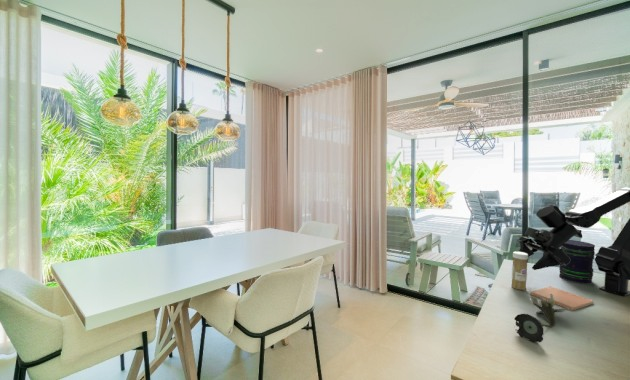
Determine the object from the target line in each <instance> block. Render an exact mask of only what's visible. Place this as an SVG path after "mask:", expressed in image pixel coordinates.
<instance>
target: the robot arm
mask: <svg viewBox="0 0 630 380" xmlns="http://www.w3.org/2000/svg"><path fill="white" fill-rule="evenodd" d="M628 203H630V187H621V188H619V189H617V191H615V192H613V193H611V194H609V195H607V196H604V197H602V198H600V199H599V200H597V201H595V202H594V203H591V204H589V205H586V206H581V207H576V208H573V209H569V210H568V211H566V212H562V211H561V210H560V208H559V206H557V205H556V204H550V205H549V206H545V207H543V208H541V209H539V210H538V211H537V212H536V213H535V215H536V217H537V218H538V219H539V220H540V221H541V222H542V223H543V224H544V225H545V226H546V227H547V228H550V230H549V231H548V230H546V229H541V230H539V229H536V228H532V227H527V229H526V231H525V232H524V235H525V236H520V238H518V244H519V246H520V248H519V250H518V252H524V253H527V254H528V258H530V257H531V256H533V255H534V254H535V253H537V252H538V251H539V252H542V256H541V258H539V259H538V261H536V262H535V264H533V265H532V267H531V268H532V270H533V271H537V270H541V269H545V268H551V267H557V266H559V267H560V266H561V265H562V264H563V265H565V266H566V265H567V264H568V263H570V257H569V256H568V255H567V254H566V253H565V252H564V251H563V250H562V249H561V247H566V245H565V243H566V242H567V241H568V240H571V239H572V238H573V237H577V238H579V239H580V238H581V239H582V238H583V234H582V232H583V231H582V229H578V228H576V227H580V228H585V229H589V228H591V227H593V226H594V225H595V224H597V223H599V222H600V220H601V217H603V216H605V215H606V214H608V213H611V212H612V211H615V210H616V209H618V208H620V207H622V206H624V205H626V204H628ZM594 261H595V264H596V266H597V269H598V271H599V272H603V273H604V283H603V286H599V288H598V289H599V290H602V291H604V292H605V291H606V292H609V293H613V294H616V295H619V296H622V297H626V296H629V295H630V290H629V281H630V217H629V219H628V220H627V221H626V222H625V224H624V226H623V228H622V229H621V230H620V232H619V234H618V235H617V236H616V238H615V240H614V242H613V243H612V244H611V245H610V246H607V247H606V246H600V247H599V249H598V251H597V253H595V255H594Z"/></svg>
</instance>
